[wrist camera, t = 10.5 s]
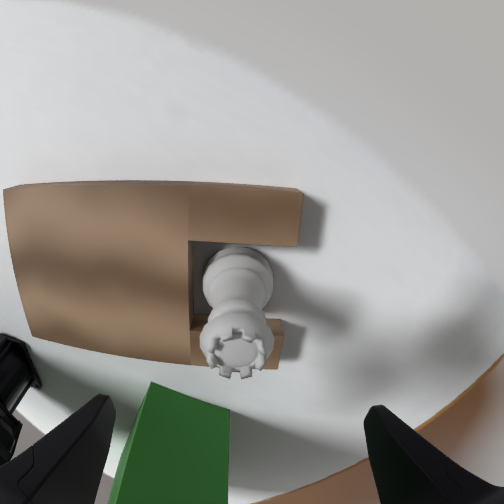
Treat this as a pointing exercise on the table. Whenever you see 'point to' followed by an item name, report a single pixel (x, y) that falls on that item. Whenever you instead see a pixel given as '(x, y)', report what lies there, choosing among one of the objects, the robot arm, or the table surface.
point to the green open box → (174, 452)
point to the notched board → (133, 258)
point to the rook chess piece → (237, 311)
